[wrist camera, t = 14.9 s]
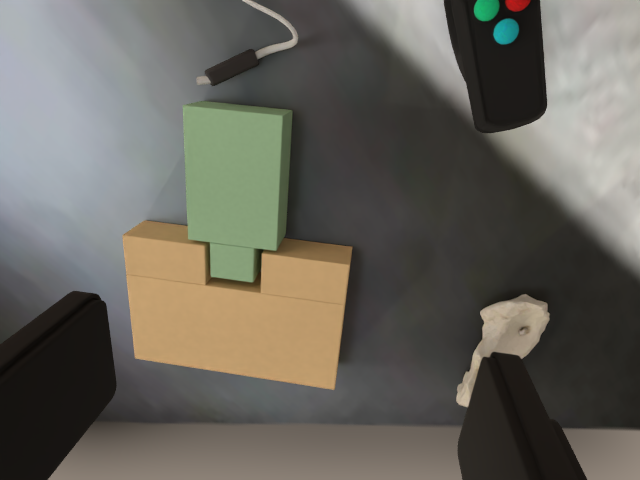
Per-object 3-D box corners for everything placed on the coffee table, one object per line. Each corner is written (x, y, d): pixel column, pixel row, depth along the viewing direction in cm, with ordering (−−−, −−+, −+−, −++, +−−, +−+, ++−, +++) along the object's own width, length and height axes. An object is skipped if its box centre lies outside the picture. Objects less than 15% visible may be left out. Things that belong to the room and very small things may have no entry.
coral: (552, 292, 35) (575, 323, 31) (507, 391, 39) (522, 430, 35) (483, 277, 35) (496, 306, 31) (445, 377, 39) (453, 414, 35)
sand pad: (352, 246, 36) (349, 264, 32) (338, 363, 40) (334, 390, 37) (144, 219, 37) (121, 234, 34) (153, 335, 42) (134, 358, 39)
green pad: (293, 109, 32) (283, 115, 29) (284, 266, 37) (275, 286, 34) (201, 100, 33) (182, 105, 29) (205, 256, 38) (189, 274, 34)
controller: (492, -100, 26) (554, -187, 17) (518, 107, 30) (578, 128, 21) (420, -73, 27) (440, -142, 18) (455, 124, 31) (486, 151, 22)
